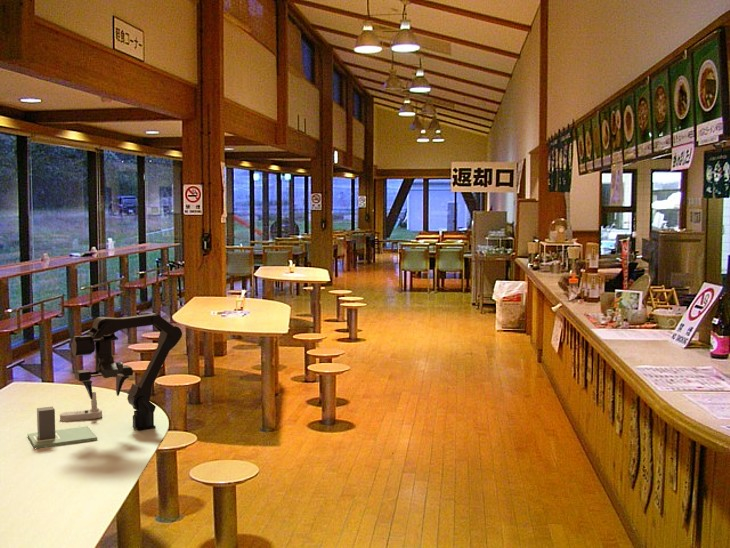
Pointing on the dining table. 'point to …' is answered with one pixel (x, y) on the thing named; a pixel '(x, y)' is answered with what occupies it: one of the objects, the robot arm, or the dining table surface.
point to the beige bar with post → (83, 412)
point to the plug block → (46, 423)
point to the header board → (64, 437)
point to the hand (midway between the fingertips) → (104, 397)
